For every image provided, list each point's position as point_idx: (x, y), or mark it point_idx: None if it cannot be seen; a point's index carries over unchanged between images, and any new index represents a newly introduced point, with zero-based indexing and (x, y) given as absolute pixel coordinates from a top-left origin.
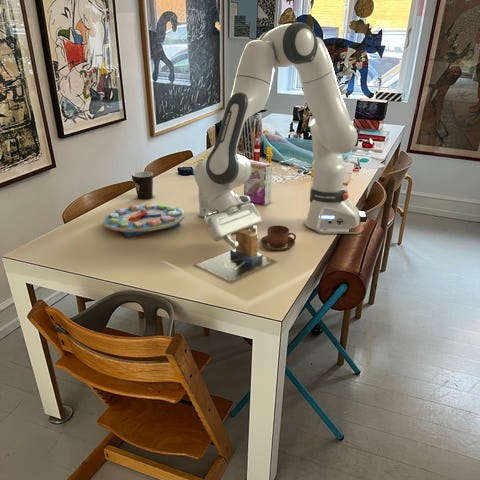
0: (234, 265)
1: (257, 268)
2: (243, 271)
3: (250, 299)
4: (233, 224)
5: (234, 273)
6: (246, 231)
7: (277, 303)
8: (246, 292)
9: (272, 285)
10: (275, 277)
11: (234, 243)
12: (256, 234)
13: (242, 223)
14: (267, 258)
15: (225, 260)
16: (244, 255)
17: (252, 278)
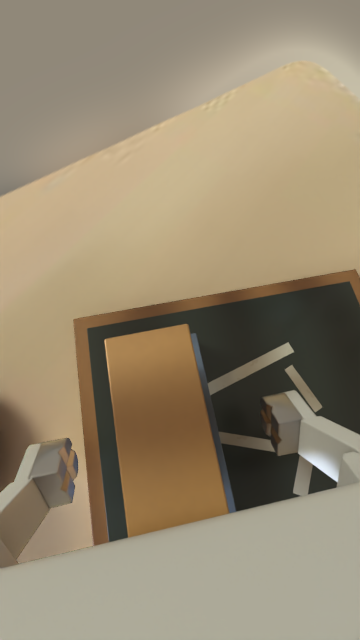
0: (272, 386)
1: (191, 300)
2: (264, 310)
3: (333, 153)
4: (329, 618)
5: (310, 315)
6: (156, 461)
7: (268, 102)
8: (325, 190)
9: (216, 180)
10: (168, 216)
11: (307, 409)
12: (118, 337)
13: (138, 618)
14: (82, 359)
15: (288, 471)
16: (205, 397)
17: (252, 255)
